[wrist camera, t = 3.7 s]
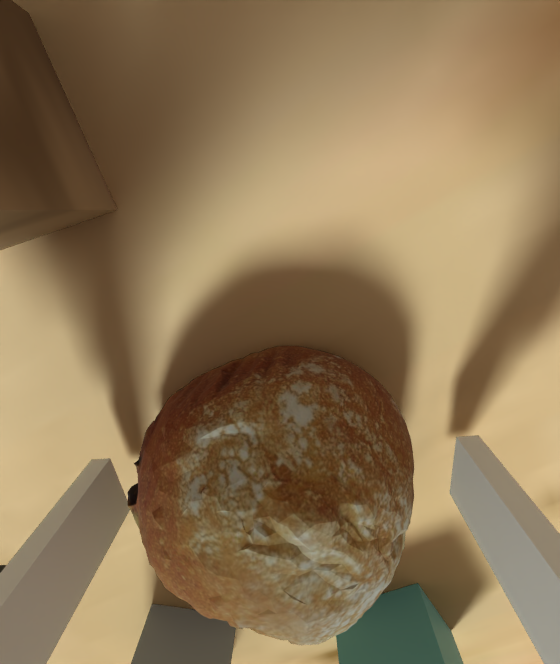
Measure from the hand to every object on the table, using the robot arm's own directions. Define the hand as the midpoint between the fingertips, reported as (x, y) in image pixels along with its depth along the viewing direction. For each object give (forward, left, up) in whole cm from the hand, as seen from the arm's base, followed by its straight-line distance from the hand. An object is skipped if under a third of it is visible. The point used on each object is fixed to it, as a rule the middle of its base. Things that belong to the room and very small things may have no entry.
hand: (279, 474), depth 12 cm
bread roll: (0, 0, -2) cm, 2 cm away
